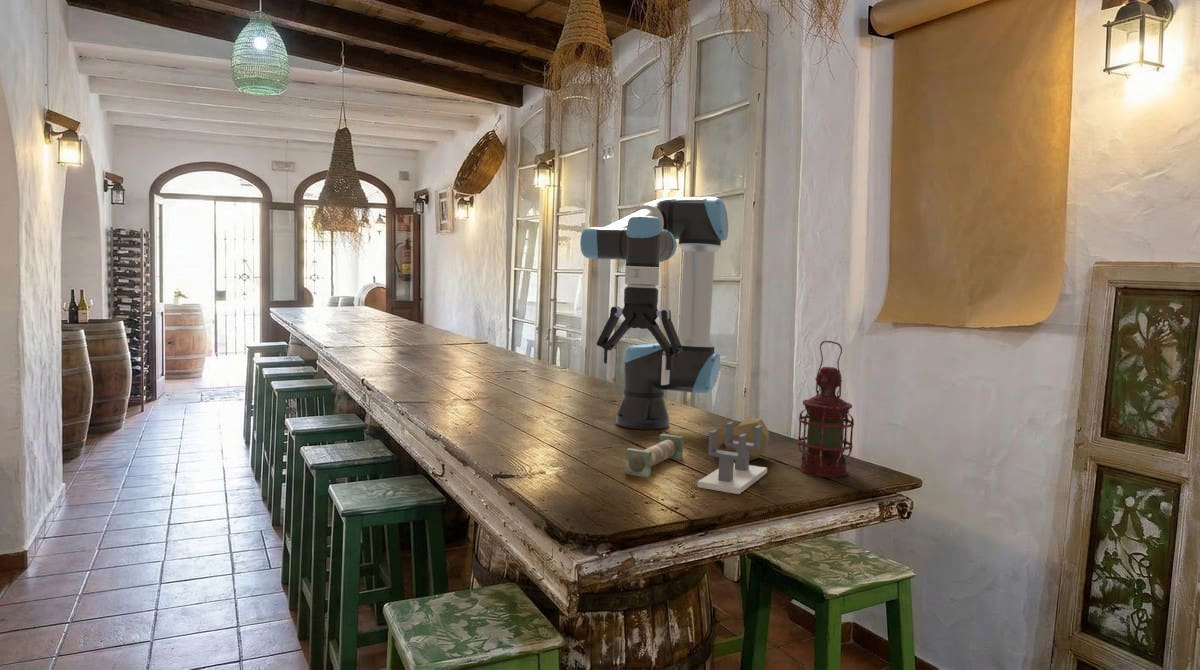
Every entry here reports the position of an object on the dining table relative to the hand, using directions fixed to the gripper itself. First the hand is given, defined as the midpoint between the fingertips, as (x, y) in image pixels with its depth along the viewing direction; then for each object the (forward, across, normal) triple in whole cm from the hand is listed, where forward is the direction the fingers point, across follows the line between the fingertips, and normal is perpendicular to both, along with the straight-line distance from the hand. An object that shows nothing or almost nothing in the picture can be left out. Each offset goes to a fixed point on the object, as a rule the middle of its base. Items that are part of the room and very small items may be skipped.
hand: (637, 381), depth 179 cm
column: (+20, +4, +4) cm, 20 cm away
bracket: (+20, +22, +3) cm, 30 cm away
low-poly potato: (+20, +17, +23) cm, 35 cm away
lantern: (+20, +37, +23) cm, 48 cm away
